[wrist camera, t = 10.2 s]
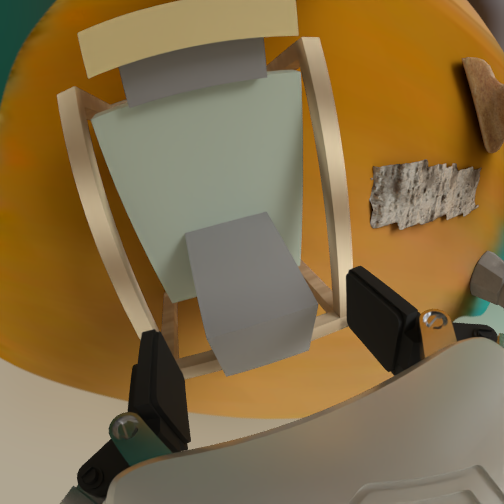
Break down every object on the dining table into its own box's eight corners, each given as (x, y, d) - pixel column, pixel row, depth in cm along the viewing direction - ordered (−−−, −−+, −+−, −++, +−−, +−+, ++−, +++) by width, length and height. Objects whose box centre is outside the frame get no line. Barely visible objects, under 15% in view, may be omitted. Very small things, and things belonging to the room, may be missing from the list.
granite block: (184, 232, 16) (206, 338, 11) (266, 211, 17) (318, 304, 12) (202, 285, 20) (226, 376, 15) (269, 266, 20) (308, 350, 15)
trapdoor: (76, 43, 8) (53, 44, 6) (286, 0, 9) (317, -6, 7) (171, 293, 21) (176, 327, 18) (295, 256, 22) (311, 286, 20)
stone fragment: (357, 166, 26) (367, 252, 30) (373, 169, 23) (382, 262, 28) (479, 142, 29) (481, 203, 33) (493, 144, 26) (494, 208, 30)
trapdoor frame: (109, 114, 18) (56, 94, 9) (263, 77, 20) (319, 37, 11) (167, 301, 25) (165, 383, 16) (297, 263, 27) (353, 324, 18)
